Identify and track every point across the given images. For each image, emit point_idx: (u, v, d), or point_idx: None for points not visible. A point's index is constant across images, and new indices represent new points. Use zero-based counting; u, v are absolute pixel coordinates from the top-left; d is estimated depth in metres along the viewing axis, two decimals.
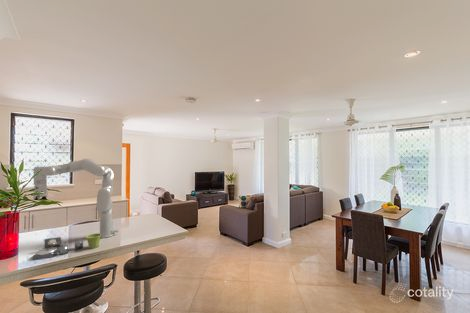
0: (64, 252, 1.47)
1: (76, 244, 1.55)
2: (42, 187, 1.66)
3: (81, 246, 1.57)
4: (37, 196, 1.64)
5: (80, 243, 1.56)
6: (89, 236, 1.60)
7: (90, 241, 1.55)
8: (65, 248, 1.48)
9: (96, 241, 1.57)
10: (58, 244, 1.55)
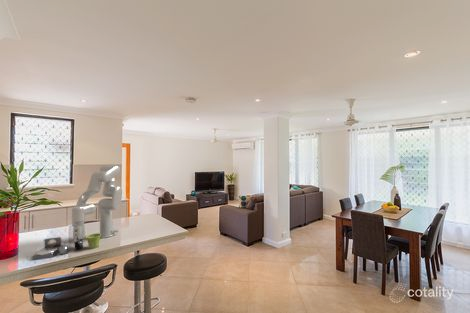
0: (64, 252, 1.47)
1: None
2: (81, 229, 1.55)
3: (81, 246, 1.57)
4: None
5: (80, 243, 1.56)
6: (89, 236, 1.60)
7: (90, 241, 1.55)
8: (65, 248, 1.48)
9: (96, 241, 1.57)
10: (58, 244, 1.55)
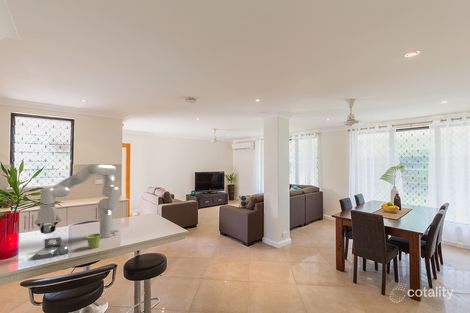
0: (64, 252, 1.47)
1: None
2: (40, 213, 1.44)
3: (44, 231, 1.45)
4: None
5: (43, 228, 1.45)
6: (89, 236, 1.60)
7: (90, 241, 1.55)
8: (65, 248, 1.48)
9: (96, 241, 1.57)
10: (58, 244, 1.55)
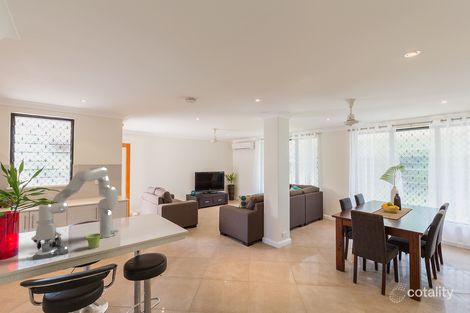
0: (64, 252, 1.47)
1: None
2: (38, 230, 1.43)
3: (43, 249, 1.45)
4: None
5: (42, 246, 1.45)
6: (89, 236, 1.60)
7: (90, 241, 1.55)
8: (65, 248, 1.48)
9: (96, 241, 1.57)
10: (58, 244, 1.55)
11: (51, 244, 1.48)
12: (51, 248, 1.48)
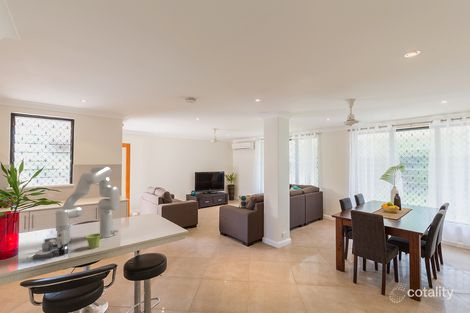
0: None
1: None
2: (65, 234, 1.46)
3: (43, 249, 1.45)
4: (61, 245, 1.45)
5: (42, 246, 1.45)
6: (89, 236, 1.60)
7: (90, 241, 1.55)
8: (65, 248, 1.48)
9: (96, 241, 1.57)
10: None
11: (51, 244, 1.48)
12: (51, 248, 1.48)
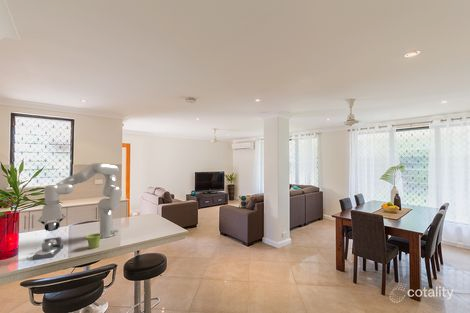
0: (48, 228, 1.45)
1: None
2: (45, 210, 1.43)
3: (43, 249, 1.45)
4: (45, 220, 1.45)
5: (42, 246, 1.45)
6: (89, 236, 1.60)
7: (90, 241, 1.55)
8: (48, 225, 1.45)
9: (96, 241, 1.57)
10: (58, 244, 1.55)
11: (51, 244, 1.48)
12: (51, 248, 1.48)
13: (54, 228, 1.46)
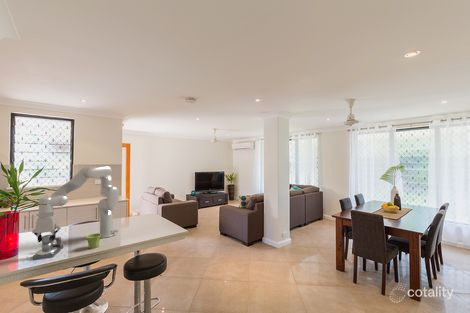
0: (42, 241, 1.45)
1: None
2: (38, 222, 1.43)
3: (43, 249, 1.45)
4: None
5: (42, 246, 1.45)
6: (89, 236, 1.60)
7: (90, 241, 1.55)
8: (42, 238, 1.45)
9: (96, 241, 1.57)
10: (58, 244, 1.55)
11: (51, 244, 1.48)
12: (51, 248, 1.48)
13: (47, 242, 1.45)
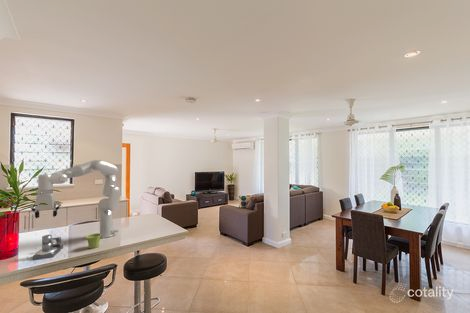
0: (42, 241, 1.45)
1: None
2: (37, 199, 1.43)
3: (43, 249, 1.45)
4: None
5: (42, 246, 1.45)
6: (89, 236, 1.60)
7: (90, 241, 1.55)
8: (42, 238, 1.45)
9: (96, 241, 1.57)
10: (58, 244, 1.55)
11: (51, 244, 1.48)
12: (51, 248, 1.48)
13: (47, 242, 1.45)
